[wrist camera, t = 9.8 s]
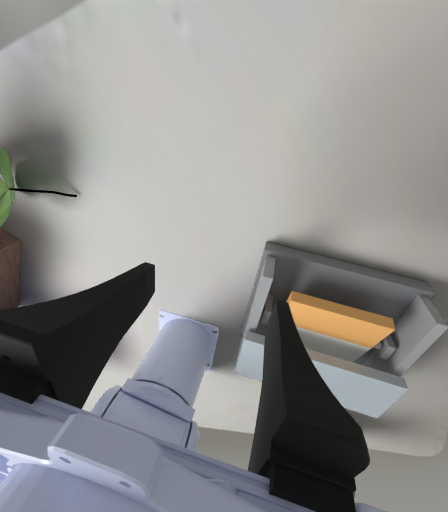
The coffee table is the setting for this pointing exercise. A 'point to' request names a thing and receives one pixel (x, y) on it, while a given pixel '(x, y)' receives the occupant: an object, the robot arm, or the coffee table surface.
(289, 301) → the rocker
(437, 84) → the coffee table surface
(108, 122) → the coffee table surface
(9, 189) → the seedling
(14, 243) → the tissue box cover
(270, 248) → the box
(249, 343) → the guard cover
